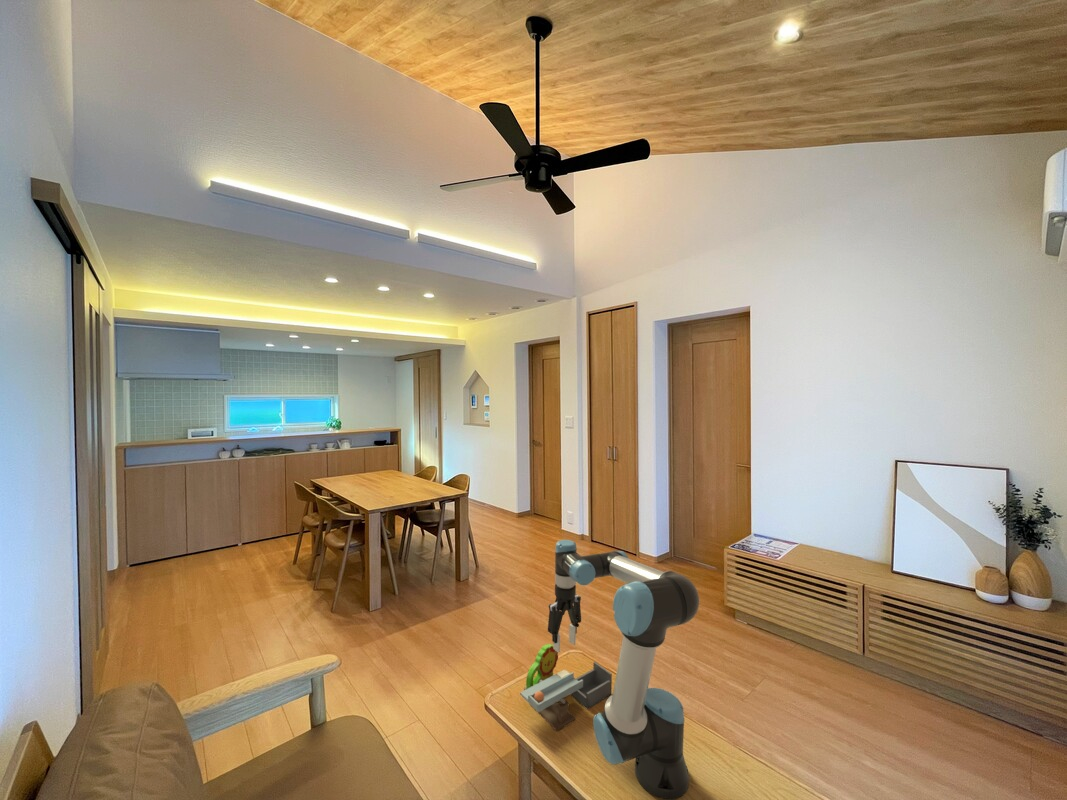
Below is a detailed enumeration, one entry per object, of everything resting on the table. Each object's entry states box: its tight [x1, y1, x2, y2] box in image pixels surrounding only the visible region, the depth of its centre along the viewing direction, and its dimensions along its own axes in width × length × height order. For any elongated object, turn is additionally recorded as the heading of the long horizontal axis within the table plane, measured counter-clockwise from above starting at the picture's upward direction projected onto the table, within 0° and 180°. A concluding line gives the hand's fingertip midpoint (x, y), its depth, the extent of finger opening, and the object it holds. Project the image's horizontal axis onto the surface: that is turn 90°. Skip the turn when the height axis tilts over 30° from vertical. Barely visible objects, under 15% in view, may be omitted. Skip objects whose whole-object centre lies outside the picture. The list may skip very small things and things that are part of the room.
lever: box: [520, 668, 583, 713], centre depth 151 cm, size 13×20×3 cm, turn 127°
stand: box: [537, 701, 576, 732], centre depth 151 cm, size 15×8×6 cm, turn 37°
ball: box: [534, 691, 544, 703], centre depth 144 cm, size 3×3×3 cm
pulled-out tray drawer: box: [570, 661, 613, 710], centre depth 159 cm, size 9×12×8 cm
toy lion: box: [523, 643, 559, 691], centre depth 163 cm, size 16×5×15 cm, turn 137°
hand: (564, 646), depth 157 cm, fingers open, 7 cm apart
